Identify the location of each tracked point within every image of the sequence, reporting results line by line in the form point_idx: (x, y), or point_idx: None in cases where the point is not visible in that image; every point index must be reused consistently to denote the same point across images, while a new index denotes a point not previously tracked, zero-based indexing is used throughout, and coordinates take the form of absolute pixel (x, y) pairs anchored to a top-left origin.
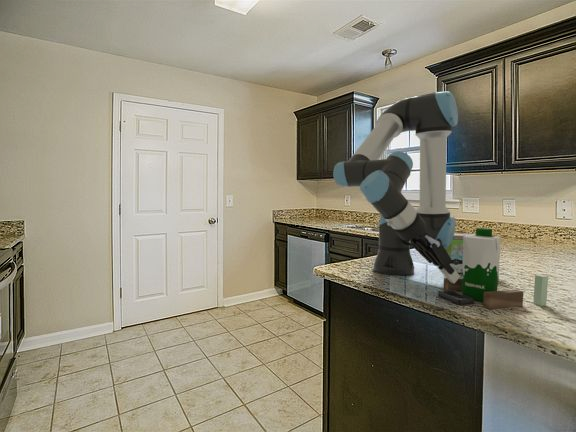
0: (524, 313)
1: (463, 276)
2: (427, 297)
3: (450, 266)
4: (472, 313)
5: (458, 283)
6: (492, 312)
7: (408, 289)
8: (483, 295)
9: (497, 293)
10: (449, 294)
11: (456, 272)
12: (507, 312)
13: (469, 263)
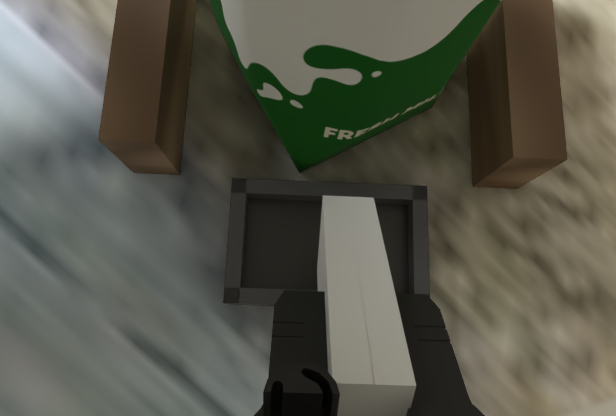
0: (599, 66)
1: (292, 98)
2: (224, 399)
3: (453, 369)
4: (561, 345)
5: (173, 66)
6: (563, 215)
7: (7, 406)
8: (423, 107)
9: (557, 96)
10: (252, 227)
11: (380, 236)
12: (574, 136)
13: (395, 37)
